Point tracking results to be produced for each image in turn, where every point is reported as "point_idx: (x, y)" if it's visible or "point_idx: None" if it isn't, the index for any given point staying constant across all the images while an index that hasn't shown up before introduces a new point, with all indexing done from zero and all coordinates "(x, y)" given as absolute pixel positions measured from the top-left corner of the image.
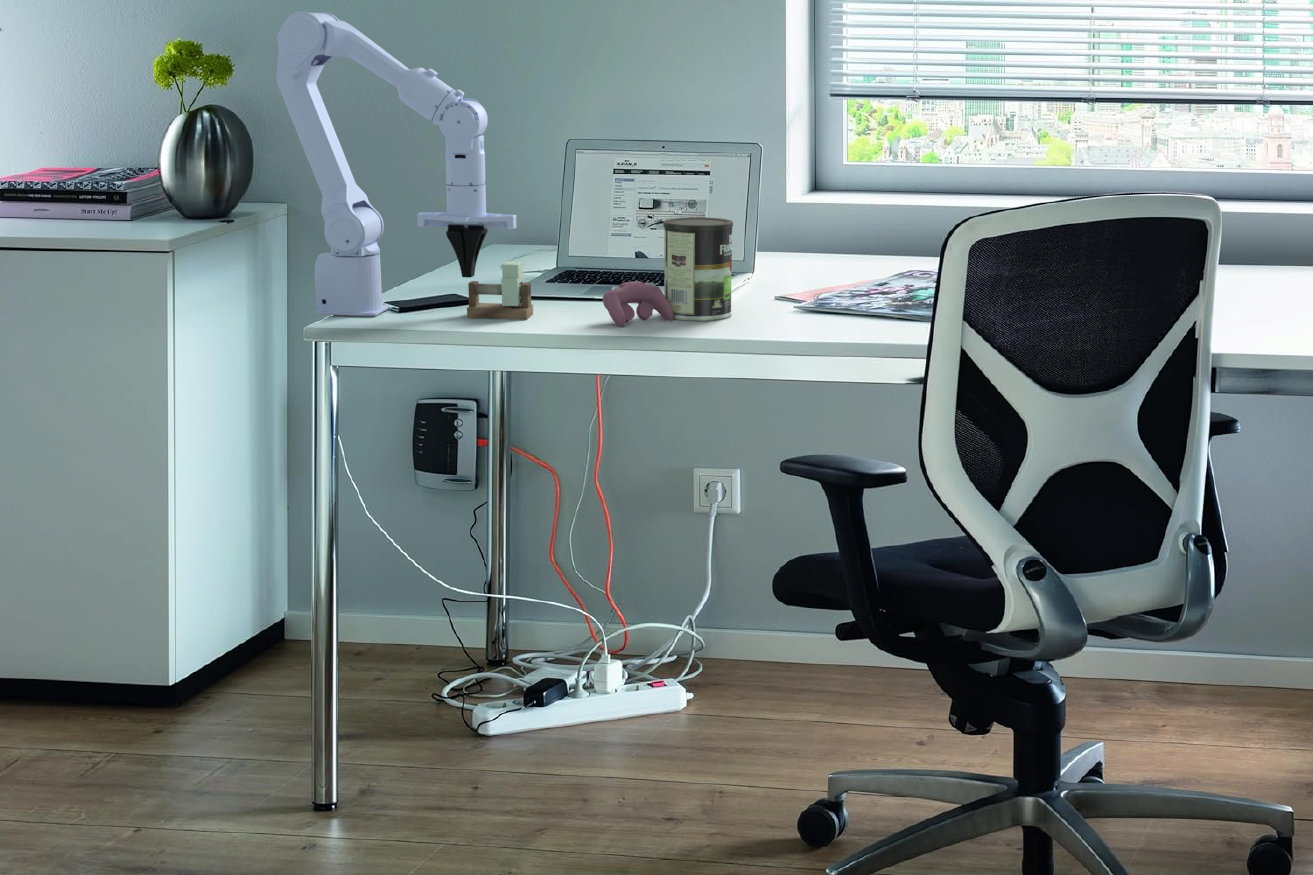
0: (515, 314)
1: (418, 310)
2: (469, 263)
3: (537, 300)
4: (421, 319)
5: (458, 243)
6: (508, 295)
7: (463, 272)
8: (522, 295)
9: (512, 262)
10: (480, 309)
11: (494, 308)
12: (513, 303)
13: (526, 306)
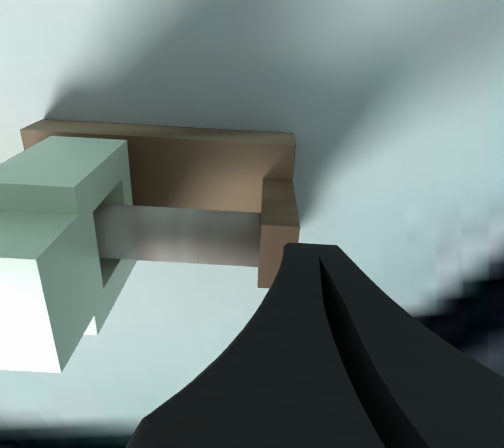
0: (80, 127)
1: (498, 266)
2: (293, 278)
3: (135, 426)
4: (489, 85)
5: (430, 384)
6: (74, 153)
7: (333, 253)
8: None
9: (6, 340)
10: (232, 141)
11: (168, 143)
12: (67, 140)
13: None
